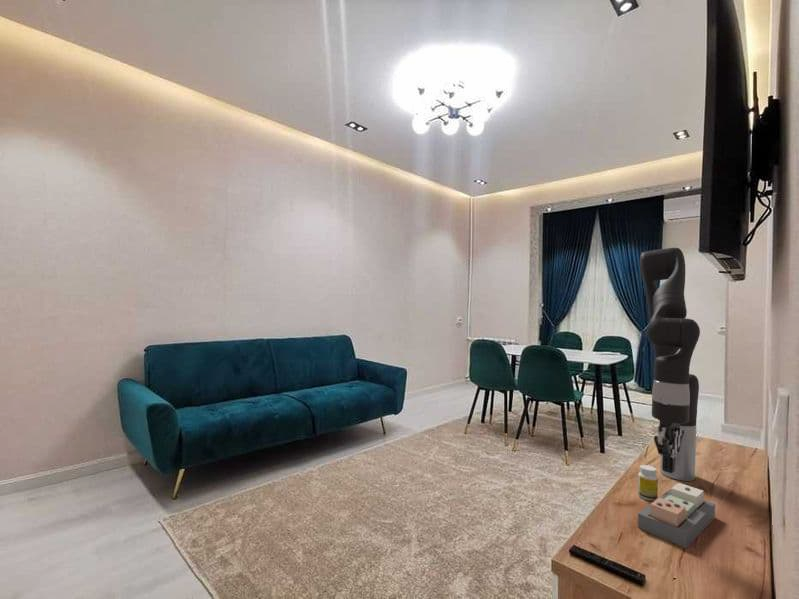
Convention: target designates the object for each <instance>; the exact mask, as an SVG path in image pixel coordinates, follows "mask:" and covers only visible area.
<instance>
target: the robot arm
mask: <svg viewBox="0 0 799 599" xmlns="http://www.w3.org/2000/svg"><path fill="white" fill-rule="evenodd" d="M639 267H640V273H641V278H642V283H643V286H644V292H645V296H646V301H647V303H646V304H647V310H648V319H649V322H648V324H647V327H646V337H647V340H648V341H649V343H651V344H652V346H653V354H654V363H653V365H654V367H653V384H652V390H651V391H652V394H651V395H652V396H651V417H653V418H654V419H656V420H658V421H659V425H658V426H657V434H658V435H654V436H653V441H654V443H655V447H656V450H657V452H658V455H660V467H659V469H660V470H659V471H660V473H661V474H662V475H664V476H666V477H668V478H670V479H671V478H672V479H674V480H678V481H682V482H683V481H684V482H690V481H694V480H695V478H696V477H695V476H696V456H697V455H696V450H697V417H698V403H699V394H700V393H699V391H700V382H699V379H698V377H697V376H696V375H695V374H690V367H691V365H690V364H691V361H692V357H693V354H694V351H695V349H696V346H697V343H698V341H699V338H700V336H701V335H700V334H701V329H700V326H699V324H698V323H697V321H695V320H694V319H692V318H687V313H688V311H687V305H686V299H685V287H686V260H685V256H684V252H683V251H682V250H681V249H680V248H678V247H667V248H660V249H654V250H648V251H647V250H646V251H643V252H641V253H640V256H639ZM664 280H665V281H664ZM657 281H664V282H663V283H662V284H660V285H659V287H658V285H657Z"/></svg>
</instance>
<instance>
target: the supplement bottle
mask: <svg viewBox="0 0 799 599" xmlns="http://www.w3.org/2000/svg"><path fill="white" fill-rule="evenodd" d="M657 472H658V471H657V468H656V467H654V466H651V465H648V464H641V465H640V466H639V472H638V474H637V476H638V479H637V496H638V497H640V498H641V499H643V500H646V501H652V502H654V501H655V500H657V499H658V491H659V490H658V486H659V485H658V483H659V481H658V480H659V478H658V476H657Z"/></svg>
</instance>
